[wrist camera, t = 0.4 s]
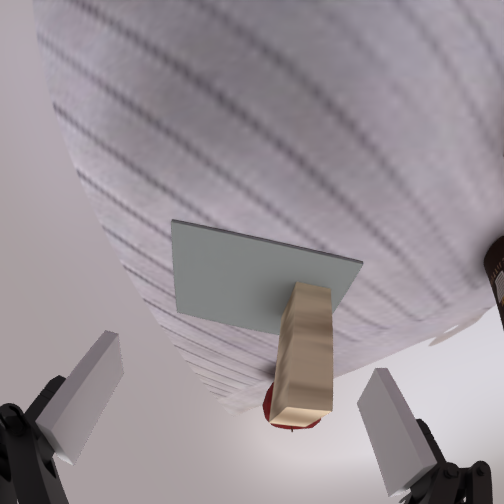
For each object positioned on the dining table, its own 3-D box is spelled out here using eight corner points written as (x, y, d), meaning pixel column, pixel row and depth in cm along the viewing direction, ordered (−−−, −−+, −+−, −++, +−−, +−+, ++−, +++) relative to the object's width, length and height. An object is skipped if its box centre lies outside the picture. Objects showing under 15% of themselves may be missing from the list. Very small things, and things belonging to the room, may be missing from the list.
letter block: (296, 281, 30) (287, 406, 19) (331, 288, 30) (332, 411, 19) (281, 316, 34) (268, 422, 24) (311, 322, 34) (306, 426, 24)
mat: (172, 219, 27) (171, 221, 27) (362, 261, 27) (363, 264, 27) (177, 309, 38) (177, 312, 38) (314, 338, 38) (314, 341, 38)
